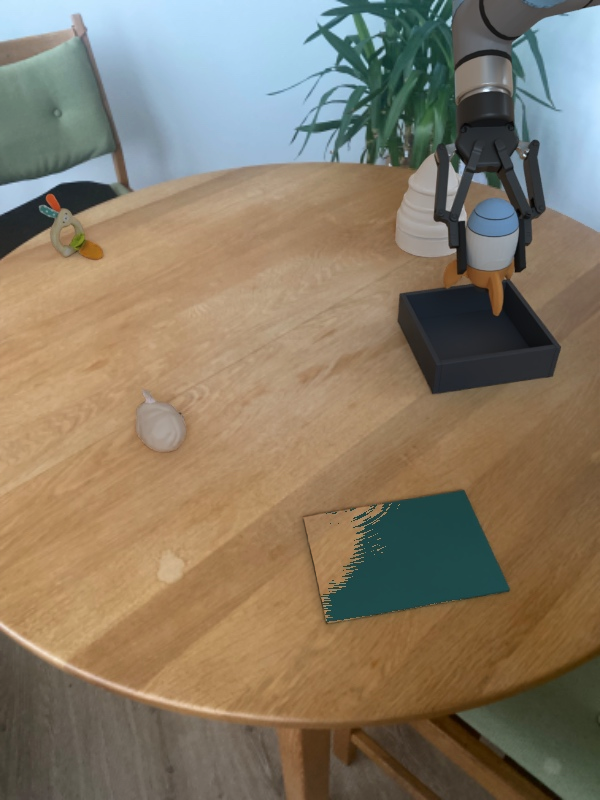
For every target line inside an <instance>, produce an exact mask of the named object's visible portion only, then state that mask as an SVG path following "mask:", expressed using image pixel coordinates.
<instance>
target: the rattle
mask: <svg viewBox="0 0 600 800" xmlns="http://www.w3.org/2000/svg"><path fill="white" fill-rule="evenodd" d="M45 201H46V202H47V204H48V205H49V206H50V207H49V206H47V205H45V204H41V205H38V209H39V212H40V213H41V214H43V215H45V216H47V217H48V218H53V219H54V221H53V224H52V225H51V228H50V231H49V237H50V243H51V245H52V246H53V249H54V250H55V251H57V252H58V253H59V254H60V255H61V256H62V257H64V258H67V257H70V256H71V255H74V254H75V253H76V252H78V253H79V254H80V255H81V256H82V257H85V258H87V259H89V260H100V259H101V258H103V256H104V254H103V253H104V252H103V248H102V247H101V246H100V245H98V244H97V243H94V242H93V241H91V240H88V239H85V238H86V235H85V228H84V226H83V224H82V222H81V221H80V220H79V219H78V218H76V217H74V216H73V214H72V212H71V211H70V210H69V208H64V207H62V208H61V205H60V203H59V202H58V200H57V199H56V196H55V195H54V194H52V193H48V194H47V195H46V196H45ZM70 225H71V226H72V227H73V228H74V236H73V237H72V239H71V242H70V243H69V244H68V245H67V244H64V245H63V243H62V242H61V238H60V237H61V236H60V235H61V231H62V229H63V228H67V227H70Z"/></svg>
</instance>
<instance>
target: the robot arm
mask: <svg viewBox="0 0 600 800" xmlns="http://www.w3.org/2000/svg"><path fill="white" fill-rule="evenodd" d="M598 6H600V0H452V13H451V15H452V16H451V22H450V23H451V24H450V29H451V34H452V35H451V36H452V53H453V54H452V55H453V70H454V100H455V101H454V102H455V105H456V107H455V126H456V137H455V140H454V142H452V143H449V144H445V143H443V142H440V143H438V144H437V146H436V149H435V150H434V152H433V153H434V158H435V161H436V165H437V179H436V191H435V203H434V216H433V219H434V221H436V222H442V223H445V224H446V226H447V227H448V245H449V248H450V249H456V252H455V253H456V255H455V256H456V259H457V275H463V274H464V273H465V271H466V270H467V254H466V229H465V221H459V217H460V214H461V211H462V208H463V205H464V206H465V202H466V199H467V196H468V193H469V190H470V188H471V187H470V186H471V184H472V182H473V181H472V180H473V178H474V175H475V174H481V173H484V172H485V173H486V172H487V173H492V174H494V173H495V175H496V177H497V179H498V180H499V181H500V183H501V185H502V187H503V189H504V192H505V194H506V197H507V199H508V202H509V203H510V204H511V205H512V206H513V207H514V210H515V212H516V214H517V217H518V222H519V235H518V242H517V247H516V251H515V255H514V270H513V272H514V273H515V274H516V273H517V274H518V273H519V274H520V273H521V272H523V271H524V270H526V269H527V253H526V251H527V250H526V247H528V246H530V245H531V244H532V241H533V226H532V224H533V223H532V221H533V220H535V219H536V220H537V219H539V217H541V216H542V215H543V214H544V213H545V212H546V210H547V208H546V207H547V206H546V200H545V195H544V188H543V183H542V182H543V181H542V175H541V170H540V165H539V159H538V157H539V151H540V146H541V142H540V141H539V140H538V139H532V140H531V141H530V142H529V141H524V140H520V139H519V136H518V135H517V133H516V129H515V127H516V126H515V125H516V124H515V103H514V102H515V101H514V99H513V96H514V81H513V59H512V45H513V43H514V42H515V41H516V40H518V39H519V38H520V37H522V36H523V35H524V34H525V33H526V32H528V31H529V30H531V29H532V27H534V26H535V25H536V24H538V23H539V22H540V21H542V20H544V19H546V18H550V17H554V16H559V15H563V14H567V13H573V12H576V11H580V10H584V9H588V8H593V7H598ZM515 151H516V152H518V153H519V158H520V159H521V160H523V161H522V168H523V175H524V181H525V187H526V193H527V197H526V195H525V192H524V190H523V188H522V186H521V183H520V181H519V178H518V176H517V174H516V172H515V167H514V163H513V161H512V158H511V157H512V156H513V155H514V153H515ZM453 153H454V154H456V156H457V157H458V158H459V160H460V161H461V162H462V164H463V165H464V168H463V171H462V174H461V176H462V177H461V181H460V184H459V187H458V190H457V193H456V196H455V199H454V202H453V205H452V208H451V211H447V210H446V200H447V187H448V175H449V162H450V163H451V161H452V159H453V157H454V155H453Z"/></svg>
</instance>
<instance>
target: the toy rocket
mask: <svg viewBox="0 0 600 800" xmlns="http://www.w3.org/2000/svg"><path fill="white" fill-rule="evenodd" d="M518 235H519V222H518V217H517V214H516V212H515V210H514V207H513V206H512V205H511V203H510V201H507V200H505V199H503V198H499V197H489V198H486V199H483V200H482V201H480V202H479V203H477V204H475V206H474V208H473V210H472V211H471V213H470V215H469V217H468V218H467V221H466V254H467V270H466V271H465V273H464V274H463V275H457V258H455V259H453V260H452V261H451V262H450V263H449V264H448V265H447V266H446V267H445V270H444V272H443V277H442V281H443V285H444V287H445V288H447V289H448V288H450V287H451V286H455V284H456V283H458V282H459V281H460V280H461V278H462V277H465V278H466V279H468V280H469V281H470V283H471V284H474V288H475V289H476V290H477V291H479V292H483V293H488V292H489V297H490V301H491V305H492V310H493V314H494V315H495V316H498V315H499V314H500V312H501V309H502V305H503V286H502V281H503V280H504V279H510V280H511V279H512V277H513V275H514V255H515V251H516V247H517V242H518Z"/></svg>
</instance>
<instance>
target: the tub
mask: <svg viewBox="0 0 600 800" xmlns="http://www.w3.org/2000/svg"><path fill="white" fill-rule="evenodd" d="M502 286H503V305H502V309H501V312H500V314H499V315H498V316H495V315H494V314H493V310H492V305H491V301H490V297H489V292H488V293H483V292H479V291H477V290H476V289H475V288H474V284H473V283H467V284H466V283H465V284H459V285H452V286H451V287H450V288H448V289H447V288H445V286H444V287H437V288H429V289H421V290H414V291H406V292H400V293H399V297H398V309H397V310H398V311H397V323H398V325H399V327H400V329H401V332H402V334H403V336H404V338H405V340H406V342H407V344H408V346H409V348H410V350H411V353H412V355H413V356H414V358H415V361H416V363H417V365H418V367H419V369H420V371H421V373H422V375H423V378H424V379H425V381H426V383H427V385H428V387H429V389H430V391H431V393H432V395H436V394H443V393H449V392H458V391H463V390H469V389H470V390H471V389H476V388H484V387H491V386H496V385H503V384H511V383H517V382H524V381H531V380H537V379H538V380H539V379H544V378H545V379H546V378H550V377H551V378H552V377H554V374H555V371H556V368H557V367H556V366H557V364H558V360H559V356H560V353H561V349H562V346H561V344H560V343H559V342H558V341H557V339H556V337H554V335H553V334H552V333H551V332H550V330H549V328H547V326H546V325H545V323H544V322H543V321H542V320H541V318H540V317H539V316H538V314H537V312H535V310H534V309H533V308H532V305H530V304H529V302H528V301H527V300H526V298H525V297H524V296H523V294H522V293H521V292H520V290H519V289H518V288H517V286H516V285H515V284H514V283H513V281H512V280H511V279H506V278H504V279H503V281H502Z"/></svg>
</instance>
